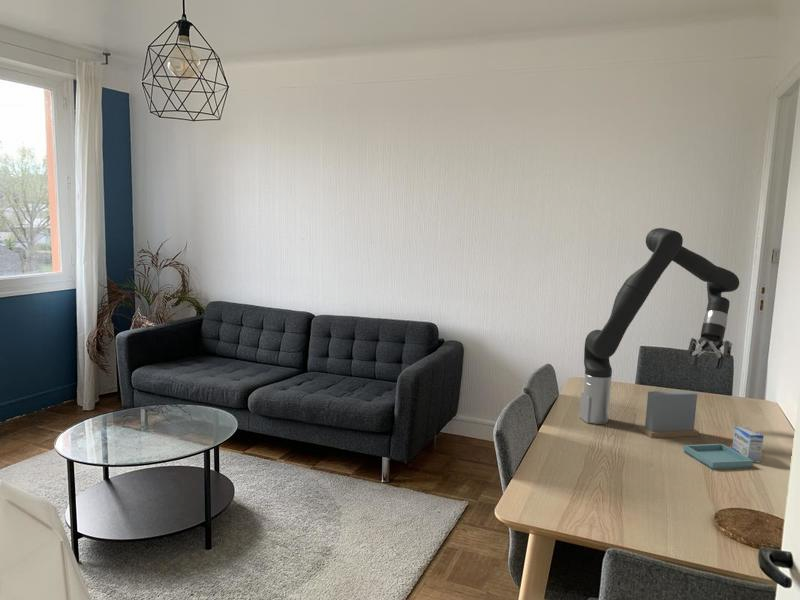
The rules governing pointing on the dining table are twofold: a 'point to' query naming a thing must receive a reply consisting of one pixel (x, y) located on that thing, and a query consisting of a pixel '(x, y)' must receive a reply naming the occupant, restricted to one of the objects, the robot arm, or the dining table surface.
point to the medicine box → (748, 443)
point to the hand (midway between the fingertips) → (705, 367)
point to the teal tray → (718, 456)
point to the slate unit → (670, 414)
